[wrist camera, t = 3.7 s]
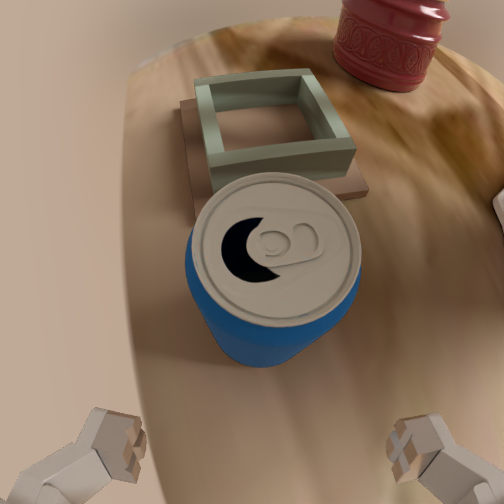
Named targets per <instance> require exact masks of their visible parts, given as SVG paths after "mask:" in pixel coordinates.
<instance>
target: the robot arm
mask: <svg viewBox="0 0 504 504" xmlns="http://www.w3.org/2000/svg"><path fill="white" fill-rule="evenodd" d="M493 206H494V209H495V211H496V214H497V216H498V218H499V220H500V223H501V225H502V228H503V232H504V188H503V189H502V190H501V191H500V192H499V193H498V194H497V195H496V196H495V197H494V199H493ZM141 425H142V422H141V419H140V417H137V416H133V415H128V414H123V413H118V412H114V411H110V410H105V409H101V408H97V407H95V408H94V409H93V410H92V411H91V413H90V415H89V417H88V419H87V421H86V423H85V425H84V427H83V429H82V431H81V433H80V435H79V437H78V439H77V442H76V443H70V444H69V445H67V446H65V447H63V448H62V449H60V450H58V451H57V452H55V453H53V454H52V455H50V456H48V457H47V458H45V459H43V460H41V461H39V462H38V463H36V464H34V465H32V466H31V467H29V468H27V469H25V470H23V471H22V472H20V474H19V476H18V479H17V480H16V482H15V484H14V486H13V488H12V490H11V492H10V495H9V497H8V499H7V501H5V500H3V499H1V498H0V504H84V503H85V502H86V501H88V500H89V499H90V498H91V497H93V496H94V495H95V494H96V493H97V492H98V491H100V490H101V489H102V488H103V487H104V486H106V485H107V484H108V483H109V482H110V481H111V480H112V479H116V480H120V481H125V482H130V483H135V484H136V483H137V480H138V476H139V473H140V469H141V467H140V465H139V462H138V461H139V460H140V459H142V458H144V455H145V451H146V443H147V442H146V435H145V432H144V431H143V430H142V429H141ZM394 427H395V431H393V432H392V433H391V434H389V437H388V439H387V442H386V453H387V456H388V459H389V460H391V461H392V462H393V463H394V464H393V467H392V472H393V475H394V478H395V481H396V484H397V483H402V482H407V481H412V480H416V479H418V481H419V482H420V483H421V484H422V485H423V486H424V487H426V488H427V489H428V490H429V491H430V492H431V493H432V494H433V495H434V496H436V497H437V498H438V499H439V500H440V501H441V502H442V503H443V504H504V471H502V470H501V469H499V468H497V467H496V466H494V465H492V464H491V463H489V462H487V461H486V460H484V459H483V458H481V457H479V456H478V455H476V454H474V453H473V452H471V451H470V450H468V449H466V448H465V447H463V446H462V445H456V443H455V441H454V439H453V437H452V435H451V433H450V431H449V429H448V428H447V426H446V424H445V422H444V420H443V418H442V416H441V415H440V414H439V413H438V412H436V413H431V414H426V415H419V416H413V417H408V418H402V419H399V420H398V421H396V423H395V425H394Z"/></svg>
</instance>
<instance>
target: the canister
mask: <svg viewBox="0 0 504 504" xmlns="http://www.w3.org/2000/svg"><path fill="white" fill-rule="evenodd" d="M447 1H449V0H342V9H341V14H340V19H339V24H338V29H337V33H336V35H335V37H334V41H333V55H334V58H335V60H336V61H337V62H338V64H339V65H340V66H341V67H342V68H344V69H345V70H346V71H347V72H349V73H350V74H352V75H353V76H355V77H357V78H358V79H360V80H362V81H364V82H367V83H369V84H371V85H374V86H377V87H380V88H383V89H387V90H391V91H398V92H408V91H413V90H415V89H417V88H418V86H419V85H420V83H422V82H423V80H424V78H425V76H426V74H427V69H428V66H429V64H430V62H431V59H432V57H433V55H434V52H435V50H436V48H437V45H438V43H439V42H440V41H441V39H442V34H441V28H442V25H443V22H446V21H448V20H450V14H449V12H448V11H447V9H446V8H445V6H444V2H447Z"/></svg>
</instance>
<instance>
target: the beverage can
mask: <svg viewBox="0 0 504 504" xmlns="http://www.w3.org/2000/svg"><path fill="white" fill-rule="evenodd" d="M361 255H362V251H361V241H360V235H359V232H358V229H357V226H356V224H355V222H354V220H353V218H352V216H351V214H350V213H349V211H348V210H347V208H346V207H345V206H344V204H343V203H342V202H341V201H340V200H339V199H338V198H337V197H336V196H335V195H334V194H333V193H331V192H330V191H329V190H327V189H326V188H325V187H323V186H321V185H319V184H318V183H316V182H314V181H312V180H309V179H307V178H304V177H301V176H298V175H293V174H289V173H280V172H267V173H258V174H253V175H249V176H246V177H243V178H240V179H238V180H235V181H233V182H231V183H229V184H228V185H226V186H225V187H223V188H222V189H220V190H219V191H218V192H217V193H215V194H214V195H213V196H212V197H211V198H210V200H209V201H208V202H207V203H206V205H205V206H204V207H203V209H202V210H201V212H200V214H199V216H198V218H197V221H196V223H195V226H194V228H193V229H192V231H191V234H190V237H189V240H188V244H187V249H186V255H185V269H186V277H187V281H188V285H189V288H190V291H191V293H192V296H193V298H194V300H195V302H196V304H197V306H198V308H199V310H200V311H201V313H202V315H203V317H204V319H205V321H206V323H207V325H208V327H209V329H210V330H211V332H212V334H213V336H214V338H215V340H216V341H217V343H218V345H219V346H220V348H221V349H222V350H223V351H224V352H225V353H226V354H227V355H228V356H229V357H231V358H232V359H233V360H235V361H237V362H239V363H241V364H244V365H246V366H251V367H258V368H262V367H271V366H275V365H278V364H281V363H283V362H285V361H287V360H288V359H290V358H291V357H293V356H294V355H296V354H297V353H299V352H300V351H301V350H303V349H304V348H306V347H307V346H308V345H310V344H311V343H312V342H314V341H315V340H316V339H318V338H319V337H321V336H322V335H323V334H325V333H326V332H327V331H329V330H330V329H331V328H332V327H333V326H335V325H336V324H337V323H338V322H339V321H340V320H341V319H342V317H343V316H344V315H345V314H346V312H347V311H348V309H349V308H350V306H351V304H352V303H353V301H354V298H355V296H356V293H357V290H358V286H359V282H360V276H361Z"/></svg>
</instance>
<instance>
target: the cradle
mask: <svg viewBox="0 0 504 504" xmlns="http://www.w3.org/2000/svg"><path fill="white" fill-rule="evenodd" d="M194 86H195V94H196V98H195V99H189V100H184V101H180V108H181V117H182V125H183V133H184V141H185V148H186V156H187V163H188V170H189V177H190V184H191V191H192V197H193V204H194V210H195V216H196V221H197V218H198V216H199V214H200V212H201V210H202V209H203V207H204V206H205V205H206V203H207V202H208V201H209V200H210V198H211V197H212V196H213V195H214V194H215V193H217V192H218V191H219V190H220V189H222V188H223V187H225V186H226V185H228V184H229V183H231V182H233V181H235V180H238V179H240V178H243V177H246V176H249V175H253V174H258V173H267V172H280V173H289V174H293V175H298V176H301V177H304V178H307V179H309V180H312V181H314V182H316V183H318V184H319V185H321V186H323V187H325V188H326V189H327V190H329V191H330V192H331V193H333V194H334V195H335V196H336V197H337V198H338V199H339V200H346V199H352V198H359V197H366V195H367V193H368V191H369V188H368V186H367V184H366V182H365V180H364V177H363V175H362V173H361V171H360V169H359V167H358V165H357V163H356V161H355V159H354V155H355V152H356V150H357V147H356V146H355V144H354V142H353V140H352V138H351V136H350V135H349V133H348V131H347V129H346V128H345V126H344V124H343V122H342V121H341V119H340V117H339V115H338V114H337V112H336V110H335V109H334V107H333V105H332V104H331V102H330V100H329V99H328V97H327V95H326V94H325V92H324V91H323V89H322V87H321V86H320V84H319V83H318V81H317V79H316V78H315V76H314V75H313V73H312V72H311V70H310V69H309V68H307V69H283V70H268V71H256V72H246V73H236V74H228V75H220V76H213V77H206V78H200V79H194Z"/></svg>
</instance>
